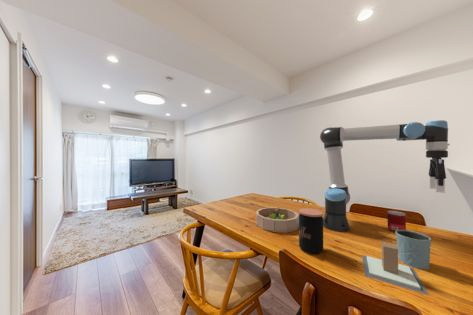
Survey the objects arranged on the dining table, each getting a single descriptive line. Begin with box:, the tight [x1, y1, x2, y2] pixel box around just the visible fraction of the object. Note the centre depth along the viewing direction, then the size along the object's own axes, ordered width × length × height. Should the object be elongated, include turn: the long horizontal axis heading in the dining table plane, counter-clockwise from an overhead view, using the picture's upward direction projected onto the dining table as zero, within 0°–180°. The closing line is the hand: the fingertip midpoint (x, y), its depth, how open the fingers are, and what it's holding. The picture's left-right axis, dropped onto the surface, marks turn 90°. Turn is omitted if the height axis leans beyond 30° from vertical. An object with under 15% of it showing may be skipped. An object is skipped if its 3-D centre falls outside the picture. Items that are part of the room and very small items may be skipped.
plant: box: [266, 207, 289, 220], centre depth 113 cm, size 20×20×11 cm
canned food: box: [387, 210, 407, 233], centre depth 102 cm, size 8×8×11 cm
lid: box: [366, 241, 421, 290], centre depth 64 cm, size 13×13×10 cm
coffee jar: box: [298, 207, 324, 256], centre depth 81 cm, size 11×11×18 cm
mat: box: [361, 255, 430, 296], centre depth 64 cm, size 16×16×1 cm
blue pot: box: [395, 229, 432, 270], centre depth 70 cm, size 10×10×12 cm
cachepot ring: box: [255, 206, 299, 233], centre depth 113 cm, size 27×27×7 cm
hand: (436, 190), depth 90 cm, fingers open, 13 cm apart
